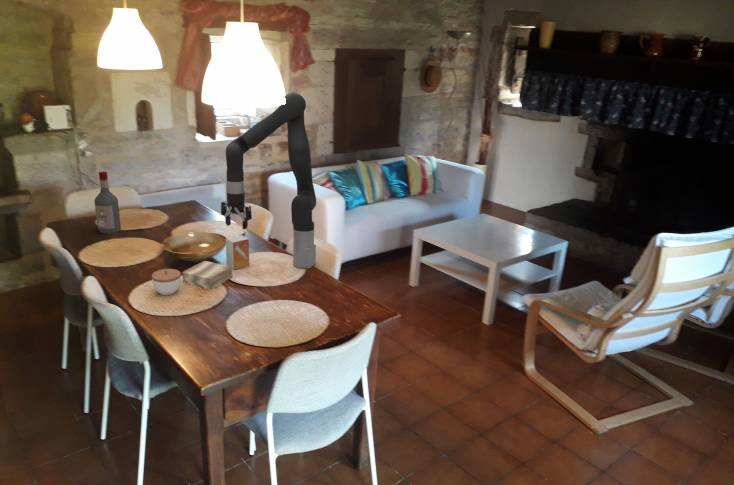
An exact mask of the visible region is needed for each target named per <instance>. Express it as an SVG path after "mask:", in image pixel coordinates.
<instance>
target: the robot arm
mask: <svg viewBox="0 0 734 485" xmlns="http://www.w3.org/2000/svg"><path fill="white" fill-rule="evenodd" d="M284 97H285V98H286V104H285V105H281V104H280V105H281V106H280V105H279V106H278V107H277V108H276V109H275V110H274V111H273V112H271V113H270V114H269V115H268V116H266V117H264V118H262V119H261V120H259V121H258V122H257V123H255V124H254V125H252V126H251V127H250V128H249V129H248V130H246V131H245V132H243V134H242V135H240V136H238V137H237V138H235V139H233V140H232V141H230V143H229V144H228V145H226V148H225V162H226V184H225V187H226V188H225V189H226V190H225V191H226V192H225V193H226V200H224V201H221V203H220V215H221V216H224V218H225V219H224V220H225V224H226V226H228V227H229V226H230V225H232V223H231V222H232V219H231V215H232V214H234V215H238V217H239V218H241V220H242V222H241V223H242V230H246V229H248V225H249V224H248V221H250V220H252V217H253V216H252V206H251V205H245V201H246V192H245V187H246V186H245V173H244V155H245V154H246V153H247V152H248V151H249V150H250V149H254V148H255V147H257V146H258V145H260V144H261V143H262V142H263V141H265V139H267V138H268V137H270V135H272V134H273V133H274V132H275V131H277V130H278V129H279V128H280V127H282V126H283V125H285V124H286V125H287V152H288V160H289V161H288V162H289V166H290V169H291V171H292V173H293V176H294V178H295V181H296V182H295V183H296V196H295V197H293V199H292V201H291V204H290V205H291V206H290V207H291V209H290V210H291V214H290V215H291V224H292V232H293V234H292V238H293V239H292V240H293V242H292V244H293V246H292V247H293V250H292V262H293V263H292V264H293V266H294V267H295V268H298V269H311V268H312V267H314V265H316V259H317V258H316V255H317V254H316V253H317V252H316V251H317V249H316V248H317V245H316V244H315V222H314V221H313V210H315V207H316V206H317V195H316V192H315V187H314V183H313V171H312V170H313V169H312V155H311V147H310V142H309V138H308V134H307V133H308V132H307V131H306V124H305V110H306V108H307V102H306V100H305V97H303V95H301V94H300V93H298V92H295V91H292V92H289V93H287V94H286V95H285V96H284Z"/></svg>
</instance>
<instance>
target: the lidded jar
mask: <svg viewBox="0 0 734 485" xmlns="http://www.w3.org/2000/svg"><path fill="white" fill-rule="evenodd" d="M181 275H182V272H180V271H179V270H178V269H174V268H164V269H158V270H156V271H154V272H153V273H152V274H151V280H152V285H153V287H154V290H155V291H156V292H158V293H159V294H160V295H162V296H170V295H174V294H175V293H176V292H177V291H178V289H179V288H180V285H181V280H182V279H181Z"/></svg>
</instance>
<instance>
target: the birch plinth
mask: <svg viewBox="0 0 734 485" xmlns="http://www.w3.org/2000/svg"><path fill="white" fill-rule="evenodd" d="M232 271H233V269H232V267H229V266H227V265H225V264H221V263H215V262H212V261H207V260H203V261H202V262H199V263H197V264H195V265H193V266H192V267H190V268H187V269H186V270H184V271H182V272H181V275H182V282H183V283H184V282H185V284H187V283H188V285H191V286H195V287H200V288H202V289H207V290H213V289H214V288H216V287H217V286H219V285H221V284H223V283H225V282H227V281H228V280H230V279H231V278H233V272H232Z"/></svg>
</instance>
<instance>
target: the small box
mask: <svg viewBox="0 0 734 485" xmlns="http://www.w3.org/2000/svg"><path fill="white" fill-rule="evenodd" d="M249 241H250V238H248V237H246V236H244V235H243V234H240V235H236V236H235V235H234V236H231V237H227V238H225V258H226V259H225V260H226V262H225V263H226V266H229V267H232V271H235V270H239V269H242V268H247V267H250V242H249Z"/></svg>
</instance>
